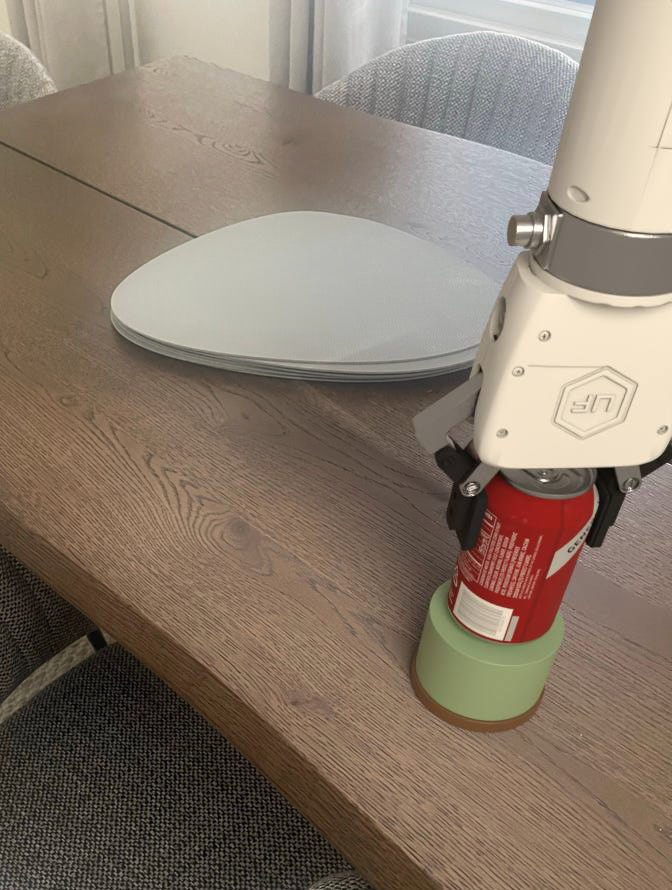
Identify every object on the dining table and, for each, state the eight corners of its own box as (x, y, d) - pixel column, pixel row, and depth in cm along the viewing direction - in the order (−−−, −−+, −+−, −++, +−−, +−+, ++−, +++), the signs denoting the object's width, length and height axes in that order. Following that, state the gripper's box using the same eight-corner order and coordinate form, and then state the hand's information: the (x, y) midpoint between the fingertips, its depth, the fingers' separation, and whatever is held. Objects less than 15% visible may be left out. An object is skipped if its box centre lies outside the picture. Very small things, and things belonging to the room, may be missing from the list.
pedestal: (522, 633, 71) (545, 567, 66) (557, 731, 65) (586, 666, 60) (399, 636, 70) (414, 570, 66) (423, 734, 64) (442, 670, 60)
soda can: (498, 668, 60) (550, 518, 51) (423, 604, 64) (459, 454, 55) (573, 625, 62) (635, 474, 53) (496, 566, 66) (542, 416, 57)
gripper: (451, 281, 42) (390, 580, 55) (844, 274, 42) (692, 573, 55) (417, 208, 47) (369, 497, 60) (769, 202, 47) (645, 491, 60)
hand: (524, 532), depth 58 cm, fingers closed on soda can, 6 cm apart
